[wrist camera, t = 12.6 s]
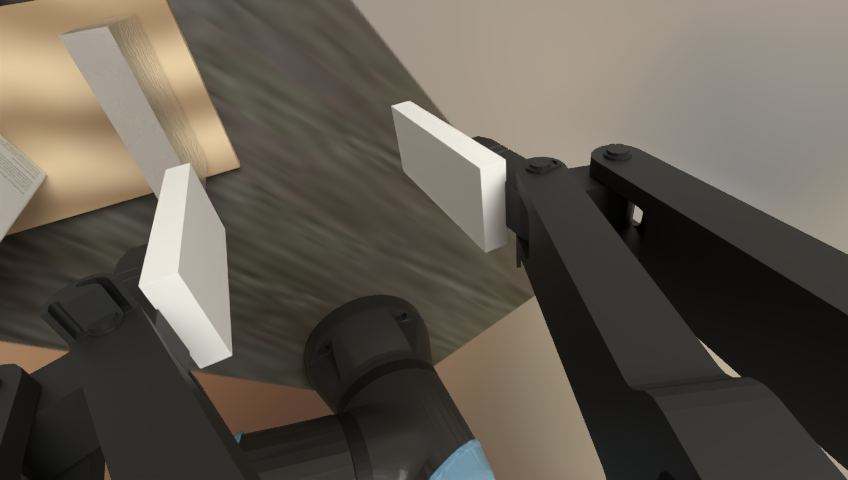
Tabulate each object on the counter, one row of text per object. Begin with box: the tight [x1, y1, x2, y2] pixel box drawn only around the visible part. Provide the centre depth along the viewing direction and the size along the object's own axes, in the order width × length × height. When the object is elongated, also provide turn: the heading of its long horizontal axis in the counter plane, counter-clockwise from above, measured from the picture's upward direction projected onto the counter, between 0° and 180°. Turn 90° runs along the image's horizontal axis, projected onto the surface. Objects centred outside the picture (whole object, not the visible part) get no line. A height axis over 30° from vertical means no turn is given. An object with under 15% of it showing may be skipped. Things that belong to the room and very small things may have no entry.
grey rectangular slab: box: [58, 14, 206, 200], centre depth 25 cm, size 10×2×9 cm, turn 9°
